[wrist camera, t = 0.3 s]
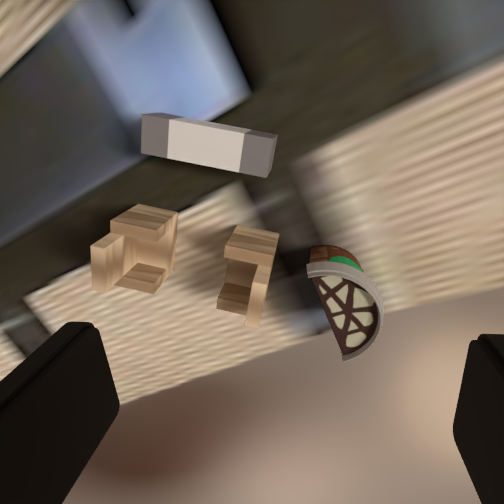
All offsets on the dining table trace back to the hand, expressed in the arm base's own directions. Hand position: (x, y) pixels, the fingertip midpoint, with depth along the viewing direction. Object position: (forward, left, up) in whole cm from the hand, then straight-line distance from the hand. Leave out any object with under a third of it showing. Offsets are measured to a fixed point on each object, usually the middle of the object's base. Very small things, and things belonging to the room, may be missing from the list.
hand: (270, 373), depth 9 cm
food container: (+13, +9, -35) cm, 38 cm away
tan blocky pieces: (+14, -10, -35) cm, 39 cm away
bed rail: (0, -10, -35) cm, 36 cm away
